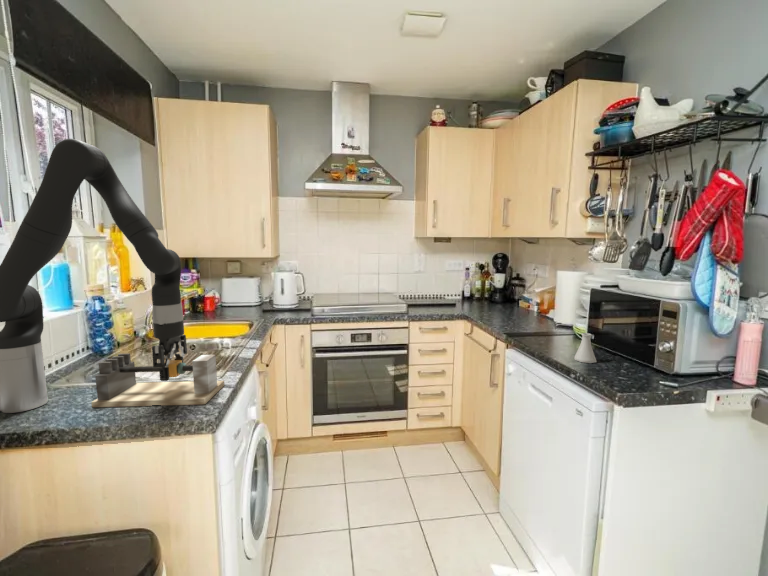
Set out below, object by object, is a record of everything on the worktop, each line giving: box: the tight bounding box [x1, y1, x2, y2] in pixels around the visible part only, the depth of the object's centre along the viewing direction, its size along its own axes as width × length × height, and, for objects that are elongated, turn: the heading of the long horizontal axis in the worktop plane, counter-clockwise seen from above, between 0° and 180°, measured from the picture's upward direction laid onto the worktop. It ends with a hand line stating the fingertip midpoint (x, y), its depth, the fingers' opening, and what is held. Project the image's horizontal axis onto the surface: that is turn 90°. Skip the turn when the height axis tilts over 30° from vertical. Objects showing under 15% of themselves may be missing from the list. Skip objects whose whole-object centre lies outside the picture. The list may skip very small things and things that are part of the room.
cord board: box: [91, 353, 225, 408], centre depth 108 cm, size 30×14×12 cm, turn 92°
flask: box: [573, 332, 597, 364], centre depth 137 cm, size 7×7×10 cm
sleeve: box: [168, 359, 182, 378], centre depth 108 cm, size 4×4×4 cm
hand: (172, 375), depth 108 cm, fingers open, 8 cm apart
